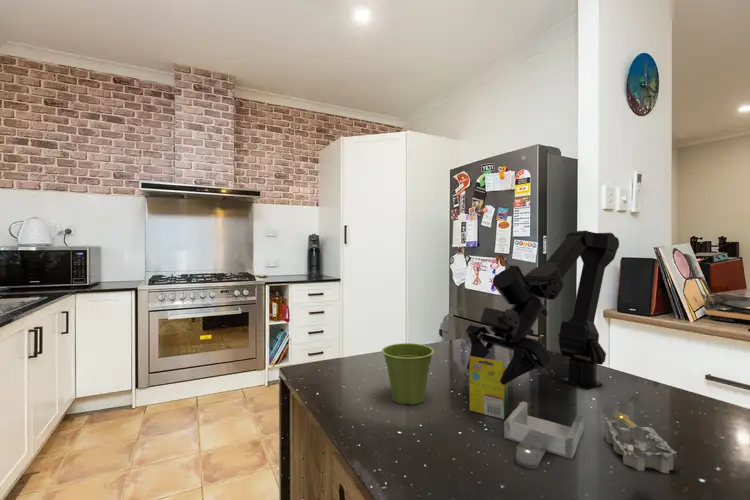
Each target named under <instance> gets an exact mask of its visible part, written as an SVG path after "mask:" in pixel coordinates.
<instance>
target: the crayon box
mask: <svg viewBox="0 0 750 500" xmlns="http://www.w3.org/2000/svg"><path fill="white" fill-rule="evenodd" d="M469 356H470V355H469ZM468 361H469V360H468ZM479 361H481V362H488V363H491V364H488V363H481V362H480V363H479ZM507 367H508V366H507ZM507 367H506V366H504V361H501V360H496V359H490V358H479V357H473V356H470V361H469V370H468V371H469V372H468V373H469V379H468V381H469V384H468V385H469V386H468V387H469V391H468V393H469V411H470V412H474V413H479V414H482V415H485V416H486V415H487V416H490V417H494V418H498V419H500V420H506V417H507V416H509V415H508V414H509V394H508V393H509V391H508V390H509V385H508V384H509V382H508V383H507V384H505V385H503V384H501V383H500V380H501V378H502V375H503V373H504V372H505V370H506V368H507Z"/></svg>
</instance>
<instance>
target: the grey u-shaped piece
mask: <svg viewBox="0 0 750 500" xmlns="http://www.w3.org/2000/svg"><path fill="white" fill-rule="evenodd" d="M504 420H505V421H503V424H504V425H503V426H504V428H503V429H504V432H503V434H504V435H503V438H504V439H505V440H506V439H507V440H509V441H512V442H515V443H518V444H517V445H516V464H517V465H518V466H520V467H522V468H524V469H527V470H535V469H538V467H539V464H540V462H541V460H542V458H543V456H544V455H545V453H546V452H548V453H551V454H552V455H556V456H560V457H562V458H565V459H569V460H573V457H574V456H575V453H576V451H577V450H578V449H577V448H578V447H579V443H580V442H581V438H582V436H583V434H584V416H582V415H578V414H577V415H576V417H575V419H574V421H573V422H572V425H571V426H568V425H565V424H560V423H557V422H554V421H550V420H546V419H543V418H539V417H535V416H531V415H528V402H526V401H521V402H520V403H519V404H518V405H517V407H516V408H515V409H514V410H513V411H512V412H511V413H510V415H508V417H507V418H505V419H504Z"/></svg>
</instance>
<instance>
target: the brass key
mask: <svg viewBox="0 0 750 500" xmlns="http://www.w3.org/2000/svg"><path fill="white" fill-rule="evenodd" d="M614 419H615V420H617V421H619V422H622V423H623V424H624V425H626V424H628V425H629V426H631V427H635V426H636V425H637V424H636V423H634V422H633V421H632V420H630V416H629V415H628V414H626V413H623V412H615V413H614Z"/></svg>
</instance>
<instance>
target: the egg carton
mask: <svg viewBox="0 0 750 500" xmlns="http://www.w3.org/2000/svg"><path fill="white" fill-rule="evenodd" d="M603 419H604V420H605V421H606V423H607V425H608V427H607V428H606V429H605V440H606V442H607V443H608V444H611V445H613V451H614V452H616V454H619V455H621V456H622V463H623V464H624V465H626V466H629V467H632V468H634V469H635V470H637V471H639V472H640V471H642V472H644V471H645V469H646V468H652V469H654V470H657V472H661V473H663V474H670V471H674V455H675V454H677V453H678V452H677V451H675V450H674V449H672V448H671V446H670V445H668V442H667V441H665V440H664V439H663V437H660V436H659V434H658V433H657V432H656V430H655V428H652V427H648V426H647V427H646V426H644V427H643V426H638V425H637V424H636V426H635V427H631V426H629V425H628V424H624V427H619V425H618V424H617V421H614V420H609V418H608V417H607V416H604V418H603ZM631 440H632V443H633V444H628V442H629V443H630V442H631ZM623 442H624V443H623Z"/></svg>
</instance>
